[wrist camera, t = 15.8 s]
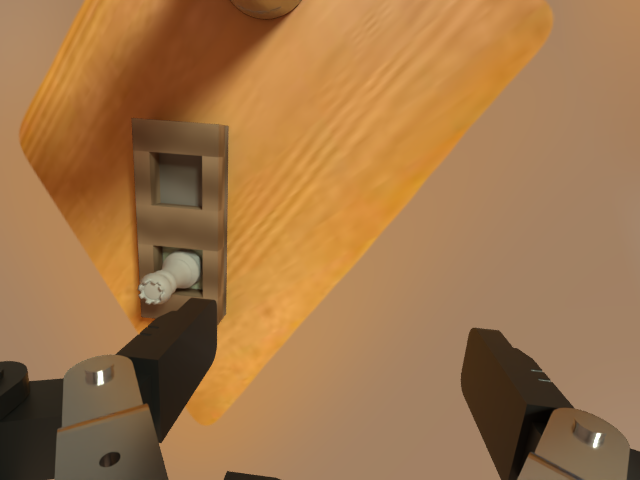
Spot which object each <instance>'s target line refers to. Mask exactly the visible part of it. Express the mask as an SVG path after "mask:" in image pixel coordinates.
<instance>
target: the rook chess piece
mask: <svg viewBox="0 0 640 480" xmlns="http://www.w3.org/2000/svg"><path fill="white" fill-rule="evenodd" d="M202 275H203V263H202V261H201V259H200V257H199V256H197V255H196V254H195V253H194V252H192V251H190V250H187V249H178V250H176V251H174V252H172V253H171V254H170V255H168V257H167V258H166V259H165V260H164V262H163V266H162V270H158V271H156V272H154V273H150V274H147V275H145V276H144V277H143V278H142V279H141V281H140V285H139V287H138V290H139V291H140V292H141V293H140V294H139V297H140V299H142V298H144V299H146V302H145V303H146V304H149V305H150V304H151V303H153V304H154V305H155V304H163V303H165V302H167V301H168V300H169V299H170V297H171V295H172V294H173V293H174V292H175V290H176V288H188V287H191V286H193V285H194V284H196V283H197V282H198V281H199V280H200V279H201V278H202Z"/></svg>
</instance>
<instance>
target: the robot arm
mask: <svg viewBox="0 0 640 480" xmlns="http://www.w3.org/2000/svg"><path fill="white" fill-rule="evenodd" d="M300 1H301V0H231V2H232V3H233V4H234V5H235V6H236V7H237V8H238V9H239V10H241V11H242V12H244V13H245V14H247V15H249V16H252V17H254V18H260V19H274V18H277V17H280V16H283V15H285V14H286V13H288V12H290V11H291V10H293V9H294V8H295V7H296V6H297V5H298V4H299V3H300ZM216 349H217V303H216V301H215V300H211V299H202V298H190V299H189V300H188V301H187V302H186V303H185V304H184V305H182V306H181V307H180V308H179V309H178V310H177V311H170V312H168V313H166V314H164V315H162V316H159V317H157V318H156V319H155V320H154V321H153V322H152V323H151V324H149V325H148V328H147V327H146V328H145V329H144V330H143V331H142V332H140V335H137V336H136V337H135V338H134V339H133V340H131V341H130V342H129V343H128V344H127V345H126V346H125V347H124V348H122V349H121V350H120V351H119V352H118V353H117V354H115V355H102V356H97V357H93V358H90V359H87V360H84V361H82V362H80V363H78V364H76V365H75V366H73V367H72V368H71V369H69V370H68V372H67V373H66V374H65V376H64V378H63V379H53V380H41V381H29V378H28V371H27V367H26V366H25V365H24V364H22V363H19V362H13V361H4V362H0V480H48V479H55V480H168V477H167V473H166V469H165V465H164V461H163V457H162V454H161V450H160V447H159V443H162V441H163V440H164V438H165V437H166V435H167V433H168V432H169V430H170V429H171V427H172V426H173V424H174V423H175V421H176V420H177V418H178V416H179V415H180V413H181V412H182V410H183V408H184V407H185V406H186V404H187V402H188V401H189V399H190V398H191V396H192V395H193V393H194V391H195V390H196V388H197V387H198V385H199V384H200V382H201V381H202V379H203V377H204V376H205V374H206V373H207V371H208V370H209V368H210V367H211V365H212V363H213V361H214V358H215V354H216ZM461 387H462V392H463V395H464V397H465V400H466V402H467V404H468V406H469V408H470V411H471V413H472V415H473V417H474V420H475V422H476V424H477V427H478V429H479V431H480V433H481V435H482V438H483V440H484V442H485V444H486V447H487V449H488V451H489V453H490V456H491V458H492V460H493V462H494V464H495V467H496V469H497V471H498V474H499V476H500V478H501V480H640V452H639V451H636V450H633V449H630V445H629V443H628V441H627V439H626V438H625V437H624V435H623V434H622V433H621V432H620V431H619V430H618V429H617V428H615V427H614V426H613V425H611V424H610V423H608V422H606V421H605V420H603V419H601V418H599V417H597V416H595V415H593V414H590V413H588V412H585V411H582V410H578V409H575V408H574V407H573V406H572V405H571V404H570V402H569V401H568V400H567V399H566V398H565V397H564V395H563V394H562V393H561V392H560V391H559V390H558V388H557V387H556V386H555V385H554V384H553V382H550V379H549V378H548V377H547V375H546V374H545V373H544V372H542V369H541V368H540V367H539V366H538V365H537V363H536V362H535V361H534V360H533V359H532V358H530V357H529V356H528V355H526V354H525V353H523V352H522V351H520V350H519V349H517V348H513V347H512V346H511V344H510V343H509V342H508V341H507V339H506V338H505V337H504V336H503V334H502V333H501V332H500V331H499V330H490V329H480V328H472V329H471V330H470V333H469V336H468V341H467V347H466V352H465V357H464V363H463V368H462V373H461ZM224 480H280V479H278V478H273V477H265V476H258V475H251V474H244V473H236V472H229V471H227V473H226V475H225V478H224Z"/></svg>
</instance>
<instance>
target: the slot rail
mask: <svg viewBox="0 0 640 480" xmlns="http://www.w3.org/2000/svg"><path fill="white" fill-rule="evenodd" d="M132 136H133V156H134V176H135V196H136V216H137V236H138V256H139V277H140V281H141V279H142V278H143V277H144V276H145V275H147V274H150V273H154V272H156V271H158V270H162V266H163V262H164V260H165V259H166V258H167V257H168V255H170V254H171V253H172V252H174V251H176V250H178V249H187V250H190V251H192V252H194V253H195V254H196V255H197V256H199V257H200V259H201V261H202V263H203V275H202V278H201V279H200V280H199V281H198V282H197V283H196V284H194V285H193V286H191V287H188V288H176V290H175V292H174V293H173V294H172V295H171V297H170V299H169V300H168V301H167V302H165V303H163V304H155V305H154V304H153V303H151V304H150V305H149V304H146V303H145V302H146V299H144V298H142V299H141V317H146V318H155V319H156V318H157V317H159V316H162V315H164V314H166V313H168V312H170V311H177V310H178V309H179V308H180V307H181V306H182V305H184V304H185V303H186V302H187V301H188V300H189V299H190V298H202V299H211V300H215V301H216V303H217V325H218V324H219V323H220V321H221V320H222V319H223V317H224V316H225V315H226V277H227V197H228V126H225V125H219V124H205V123H192V122H179V121H166V120H152V119H139V118H132ZM140 293H141V292H140Z"/></svg>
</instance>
